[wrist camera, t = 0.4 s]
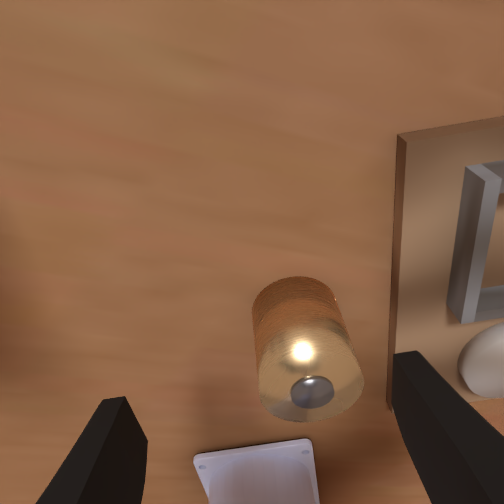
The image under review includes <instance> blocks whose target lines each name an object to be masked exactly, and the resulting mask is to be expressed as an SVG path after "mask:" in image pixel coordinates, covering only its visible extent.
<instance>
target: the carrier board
mask: <svg viewBox="0 0 504 504" xmlns="http://www.w3.org/2000/svg"><path fill="white" fill-rule="evenodd" d="M415 350H417V351H418V352H420V353H421V354H422V355H423V356H424V358H425V359H426V360H427V361H428V362H429V363H430V364H431V365H432V366H433V367H434V368H435V370H436V371H437V372H438V373H439V374H440V375H441V376H442V377H443V378H444V379H445V380H446V381H447V382H448V383H449V384H450V385H451V386H452V387H453V388H454V389H455V390H456V391H457V392H458V394H459V395H460V396H461V397H462V398H464V399H465V400H466V401H467V402H475V401H481V400H488V399H495V398H504V116H502V117H496V118H491V119H485V120H479V121H473V122H467V123H461V124H455V125H449V126H444V127H438V128H432V129H426V130H420V131H414V132H408V133H402V134H398V135H397V159H396V182H395V206H394V230H393V253H392V277H391V301H390V325H389V348H388V372H387V396H386V400H387V403H388V405H389V408H390V410H391V413H392V414H393V413H394V410H393V407H392V404H391V397H392V369H393V354H396V353H402V352H409V351H415Z"/></svg>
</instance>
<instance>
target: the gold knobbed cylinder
mask: <svg viewBox="0 0 504 504" xmlns="http://www.w3.org/2000/svg"><path fill="white" fill-rule="evenodd" d="M252 318H253V330H254V341H255V352H256V363H257V374H258V386H259V396H260V400H261V403H262V404H263V406H264V407H265V409H266V410H267V411H269V412H270V413H271V414H273V415H274V416H276V417H278V418H281V419H284V420H288V421H293V422H315V421H321V420H325V419H328V418H331V417H334V416H336V415H338V414H340V413H342V412H344V411H345V410H347V409H348V408H350V407H351V406H352V405H353V404H354V403H355V402H356V401H357V400H358V398H359V397H360V395H361V393H362V391H363V387H364V377H363V374H362V371H361V368H360V366H359V363H358V360H357V357H356V354H355V352H354V349H353V346H352V343H351V341H350V338H349V335H348V332H347V329H346V327H345V324H344V321H343V318H342V316H341V313H340V310H339V307H338V304H337V302H336V299H335V296H334V294H333V292H332V291H331V290H330V288H329V287H328V286H326V285H325V284H324V283H322V282H320V281H318V280H316V279H313V278H308V277H289V278H284V279H281V280H278V281H276V282H274V283H272V284H270V285H269V286H267V287H266V288H265V289H263V290H262V291H261V292H260V294H259V295H258V296H257V298H256V299H255V301H254V304H253V308H252Z"/></svg>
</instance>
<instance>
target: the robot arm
mask: <svg viewBox="0 0 504 504" xmlns="http://www.w3.org/2000/svg"><path fill="white" fill-rule="evenodd" d="M391 404H392V407H393V410H394V413H395V416H396V419H397V423H398V426H399V429H400V431H401V434H402V437H403V440H404V443H405V445H406V447H407V450H408V452H409V454H410V456H411V459H412V461H413V463H414V465H415V468H416V470H417V472H418V474H419V476H420V479H421V481H422V483H423V485H424V487H425V490H426V492H427V494H428V496H429V498H430V501H431V503H432V504H504V436H503V435H502V434H500V433H499V432H498V431H497V430H496V429H495V428H494V427H493V426H492V425H491V424H490V423H488V422H487V421H486V420H485V419H484V418H483V417H482V416H481V415H480V414H479V413H478V412H477V411H476V410H475V409H474V408H473V407H472V406H471V405H470V404H469V403H468V402H467V401H466V400H465V399H464V398H462V397H461V396H460V395H459V394H458V392H457V391H456V390H455V389H454V388H453V387H452V386H451V385H450V384H449V383H448V382H447V381H446V380H445V379H444V378H443V377H442V376H441V375H440V374H439V373H438V372H437V371H436V370H435V368H434V367H433V366H432V365H431V364H430V363H429V362H428V361H427V360H426V359H425V358H424V356H423V355H422V354H421V353H420V352H418V351H417V350H415V351H409V352H402V353H396V354H393V369H392V397H391ZM147 445H148V440H147V438H146V436H145V434H144V432H143V430H142V428H141V426H140V424H139V423H138V421H137V419H136V417H135V415H134V413H133V411H132V409H131V407H130V405H129V403H128V401H127V399H126V397H125V396H123V397H116V398H110V399H104V400H102V402H101V403H100V404H99V406H98V408H97V409H96V411H95V412H94V414H93V416H92V417H91V419H90V421H89V422H88V424H87V425H86V427H85V429H84V430H83V432H82V434H81V435H80V437H79V438H78V440H77V442H76V443H75V445H74V446H73V448H72V449H71V451H70V453H69V454H68V456H67V457H66V459H65V460H64V462H63V463H62V465H61V467H60V468H59V470H58V471H57V473H56V474H55V476H54V477H53V479H52V480H51V482H50V483H49V485H48V486H47V488H46V489H45V491H44V492H43V494H42V495H41V497H40V498H39V499H38V501H37V502H36V504H141V501H142V495H143V490H144V484H145V475H146V462H147ZM193 464H194V466H195V468H196V471H197V473H198V475H199V478H200V480H201V482H202V485H203V487H204V489H205V492H206V494H207V496H208V499H209V504H320V502H319V494H318V486H317V479H316V471H315V463H314V455H313V447H312V442H311V440H309V439H298V440H291V441H284V442H277V443H270V444H263V445H256V446H250V447H243V448H236V449H229V450H222V451H215V452H208V453H202V454H197V455H195V456H194V460H193Z"/></svg>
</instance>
